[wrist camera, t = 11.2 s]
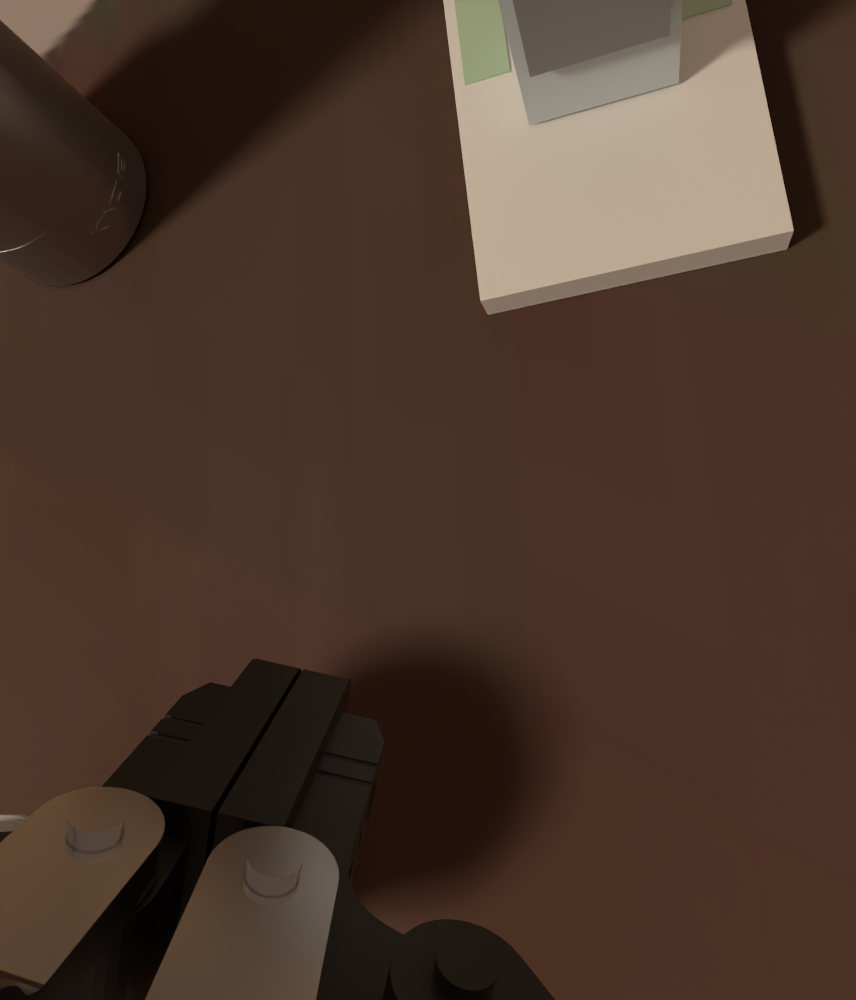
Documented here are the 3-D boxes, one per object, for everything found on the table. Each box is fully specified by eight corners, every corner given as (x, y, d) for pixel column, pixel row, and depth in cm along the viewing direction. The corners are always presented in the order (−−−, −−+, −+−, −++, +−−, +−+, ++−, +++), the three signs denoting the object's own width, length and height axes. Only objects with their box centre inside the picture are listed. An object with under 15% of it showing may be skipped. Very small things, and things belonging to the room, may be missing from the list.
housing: (787, 249, 29) (794, 229, 28) (488, 314, 32) (479, 300, 31) (693, -204, 33) (695, -243, 32) (435, -107, 37) (425, -138, 35)
